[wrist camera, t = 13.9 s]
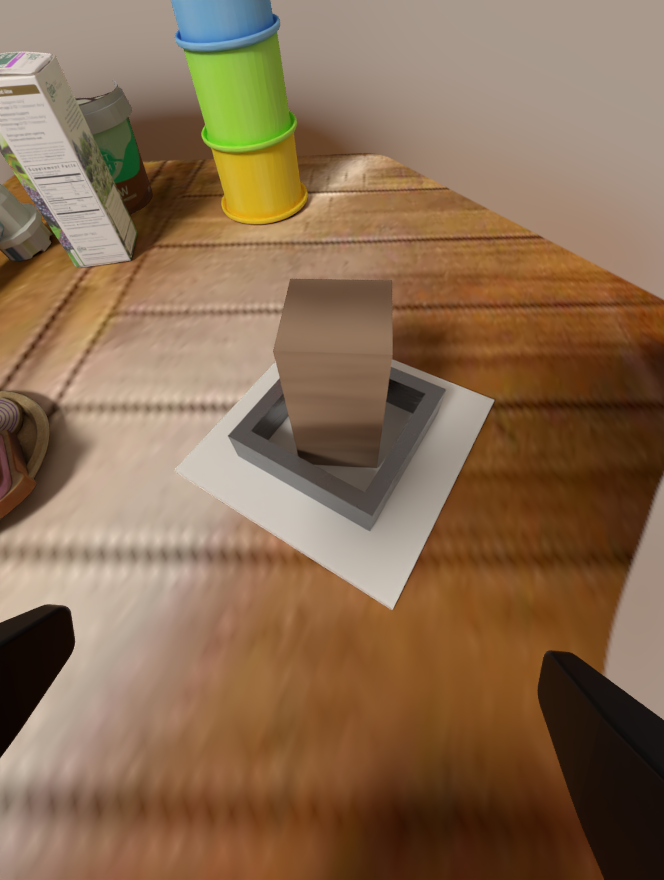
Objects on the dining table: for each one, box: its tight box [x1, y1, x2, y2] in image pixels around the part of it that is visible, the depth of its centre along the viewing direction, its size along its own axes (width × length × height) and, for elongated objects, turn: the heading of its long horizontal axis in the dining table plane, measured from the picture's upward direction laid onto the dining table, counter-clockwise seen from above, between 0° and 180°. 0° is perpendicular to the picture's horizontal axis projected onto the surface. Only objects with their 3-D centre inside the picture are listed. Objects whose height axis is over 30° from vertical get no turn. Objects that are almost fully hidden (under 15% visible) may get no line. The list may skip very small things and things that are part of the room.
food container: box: [76, 80, 152, 214], centre depth 40 cm, size 12×6×10 cm, turn 129°
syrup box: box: [0, 52, 137, 267], centre depth 33 cm, size 6×6×14 cm
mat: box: [174, 359, 494, 610], centre depth 25 cm, size 16×16×1 cm
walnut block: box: [273, 279, 393, 468], centre depth 21 cm, size 5×5×10 cm
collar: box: [228, 367, 446, 531], centre depth 24 cm, size 10×10×2 cm
